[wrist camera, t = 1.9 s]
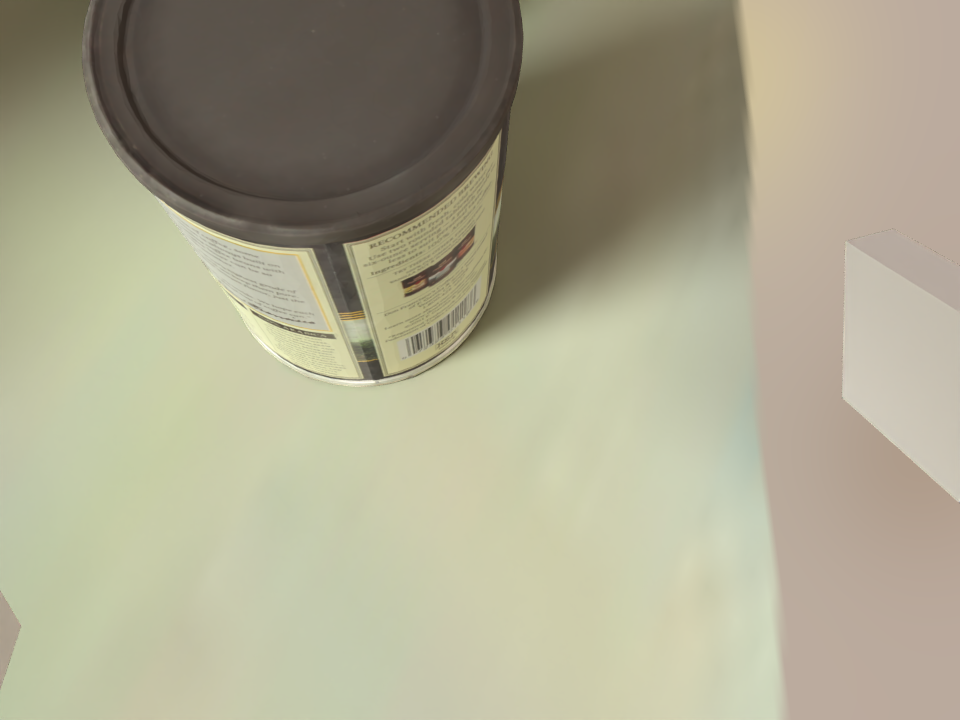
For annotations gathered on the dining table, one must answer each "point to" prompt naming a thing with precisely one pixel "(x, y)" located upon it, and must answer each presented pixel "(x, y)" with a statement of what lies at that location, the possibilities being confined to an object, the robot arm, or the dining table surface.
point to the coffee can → (322, 161)
